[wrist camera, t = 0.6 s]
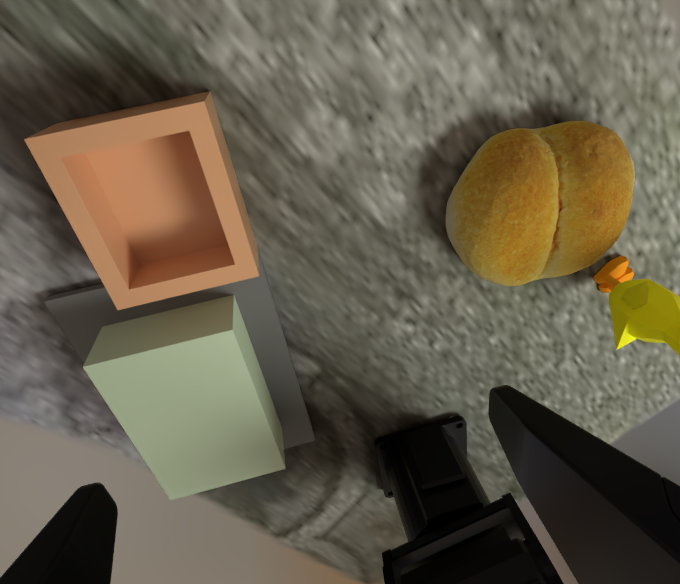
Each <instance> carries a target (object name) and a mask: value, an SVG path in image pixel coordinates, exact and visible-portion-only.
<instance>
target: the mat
mask: <svg viewBox="0 0 680 584" xmlns="http://www.w3.org/2000/svg"><path fill="white" fill-rule="evenodd" d="M258 264H259V276H258V277H254V278H250V279H246V280H242V281H237V282H233V283H229V284H225V285H221V286H217V287H213V288H208V289H204V290H200V291H196V292H192V293H188V294H183V295H179V296H175V297H171V298H167V299H163V300H159V301H154V302H150V303H146V304H142V305H138V306H134V307H130V308H125V309H121V310H117V308H116V306H115V304H114V303H113V301H112V299H111V297H110V295H109V293H108V292H107V290H106V288H105V286H104V284H103V283H102V284H97V285H93V286H89V287H85V288H81V289H76V290H72V291H68V292H64V293H59V294H55V295H51V296H48V297H47V298H46V299H45V301H44V303H45V305H46V306H47V308H48V309H49V311H50V312H51V314H52V316H53V317H54V319H55V320H56V322H57V323H58V325H59V326H60V328H61V329H62V331H63V332H64V334H65V335H66V337H67V338H68V340H69V342H70V343H71V345H72V346H73V348H74V349H75V351H76V352H77V354H78V355H79V357H80V358H81V360H82V361H83V363H85V361H86V359H87V357H88V355H89V353H90V351H91V349H92V347H93V345H94V343H95V340H96V338H97V336H98V334H99V332H100V330H101V328H102V327H103V326H107V325H111V324H115V323H120V322H124V321H128V320H132V319H136V318H140V317H144V316H148V315H152V314H157V313H161V312H165V311H169V310H173V309H177V308H181V307H185V306H189V305H194V304H198V303H202V302H206V301H210V300H214V299H218V298H222V297H226V296H231V295H234V296H235V299H236V302H237V305H238V307H239V310H240V313H241V316H242V318H243V321H244V324H245V327H246V330H247V332H248V335H249V338H250V341H251V343H252V346H253V349H254V352H255V355H256V357H257V360H258V363H259V366H260V368H261V371H262V374H263V377H264V379H265V382H266V385H267V388H268V391H269V393H270V396H271V399H272V402H273V404H274V407H275V410H276V413H277V416H278V418H279V421H280V424H281V427H282V435H283V445H284V449H287V448H291V447H295V446H298V445H302V444H306V443H309V442H313V441H316V440H315V435H314V431H313V428H312V425H311V422H310V418H309V415H308V412H307V408H306V405H305V402H304V398H303V395H302V392H301V389H300V385H299V382H298V379H297V375H296V372H295V369H294V366H293V362H292V359H291V356H290V352H289V349H288V346H287V342H286V339H285V336H284V333H283V329H282V326H281V323H280V319H279V316H278V313H277V309H276V306H275V303H274V300H273V296H272V293H271V290H270V286H269V283H268V280H267V276H266V273H265V270H264V267H263V263H262V260H261V257H260V253H259V250H258Z"/></svg>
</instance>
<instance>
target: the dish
mask: <svg viewBox="0 0 680 584" xmlns="http://www.w3.org/2000/svg"><path fill="white" fill-rule="evenodd" d="M24 140H25V142H26V144H27V146H28V148H29V149H30V151H31V153H32V155H33V157H34V158H35V160H36V162H37V164H38V166H39V168H40V169H41V171H42V173H43V175H44V177H45V179H46V180H47V182H48V184H49V186H50V188H51V189H52V191H53V193H54V195H55V197H56V199H57V200H58V202H59V204H60V206H61V208H62V210H63V211H64V213H65V215H66V217H67V219H68V220H69V222H70V224H71V226H72V228H73V230H74V231H75V233H76V235H77V237H78V239H79V241H80V242H81V244H82V246H83V248H84V250H85V251H86V253H87V255H88V257H89V259H90V261H91V262H92V264H93V266H94V268H95V270H96V272H97V273H98V275H99V277H100V279H101V281H102V282H103V284H104V286H105V288H106V290H107V292H108V293H109V295H110V297H111V299H112V301H113V303H114V304H115V306H116V308H117V310H121V309H125V308H130V307H134V306H138V305H142V304H146V303H150V302H154V301H159V300H163V299H167V298H171V297H175V296H179V295H183V294H188V293H192V292H196V291H200V290H204V289H208V288H213V287H217V286H221V285H225V284H229V283H233V282H237V281H242V280H246V279H250V278H254V277H258V276H259V264H258V247H257V244H256V240H255V237H254V234H253V230H252V227H251V224H250V220H249V217H248V214H247V211H246V207H245V204H244V201H243V197H242V194H241V191H240V187H239V184H238V181H237V178H236V174H235V171H234V168H233V164H232V161H231V158H230V155H229V151H228V148H227V145H226V141H225V138H224V135H223V131H222V128H221V125H220V122H219V118H218V115H217V112H216V108H215V105H214V102H213V98H212V95H211V92H210V91H208V92H203V93H198V94H194V95H189V96H184V97H179V98H175V99H170V100H165V101H160V102H155V103H151V104H146V105H141V106H136V107H131V108H127V109H122V110H117V111H112V112H107V113H103V114H98V115H93V116H88V117H84V118H79V119H74V120H69V121H64V122H60V123H56V124H54V125H52V126H50V127H48V128H46V129H44V130H42V131H40V132H38V133H36V134H34V135H32V136H30V137H28V138H26V139H24Z"/></svg>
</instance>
